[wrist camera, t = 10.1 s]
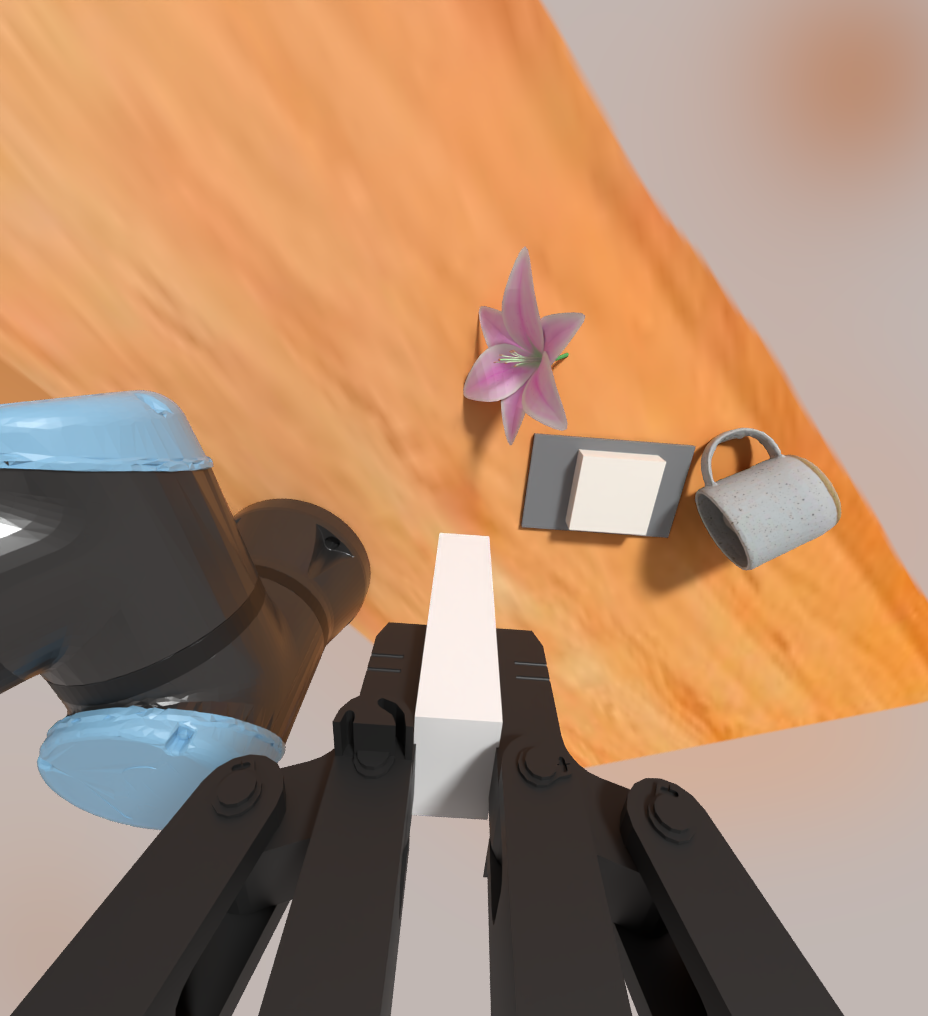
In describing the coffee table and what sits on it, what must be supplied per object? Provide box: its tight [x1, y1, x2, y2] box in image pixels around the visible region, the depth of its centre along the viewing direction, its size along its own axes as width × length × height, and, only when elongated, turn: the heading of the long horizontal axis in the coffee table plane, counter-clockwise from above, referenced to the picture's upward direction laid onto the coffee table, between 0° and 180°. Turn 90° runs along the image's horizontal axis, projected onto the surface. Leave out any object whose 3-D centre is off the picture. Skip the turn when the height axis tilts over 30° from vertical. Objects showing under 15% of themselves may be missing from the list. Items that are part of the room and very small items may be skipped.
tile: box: [565, 449, 666, 535], centre depth 40 cm, size 2×7×7 cm
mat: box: [521, 433, 695, 538], centre depth 41 cm, size 14×9×1 cm, turn 86°
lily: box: [464, 247, 585, 445], centre depth 33 cm, size 12×12×10 cm
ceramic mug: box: [695, 428, 841, 570], centre depth 37 cm, size 11×8×8 cm
